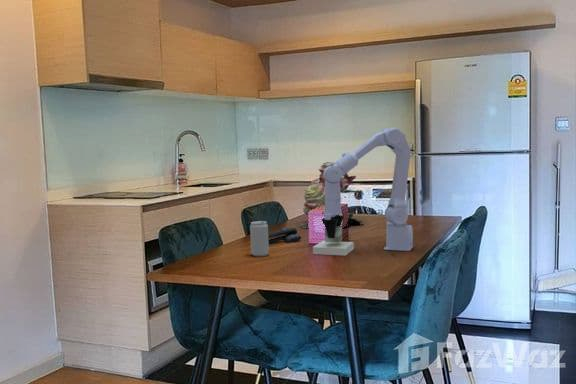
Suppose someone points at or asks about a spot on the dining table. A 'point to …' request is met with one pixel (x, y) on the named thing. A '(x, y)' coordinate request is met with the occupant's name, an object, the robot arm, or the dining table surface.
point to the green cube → (337, 235)
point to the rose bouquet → (317, 193)
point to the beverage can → (259, 238)
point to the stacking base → (333, 248)
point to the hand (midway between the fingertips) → (333, 236)
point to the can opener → (289, 236)
